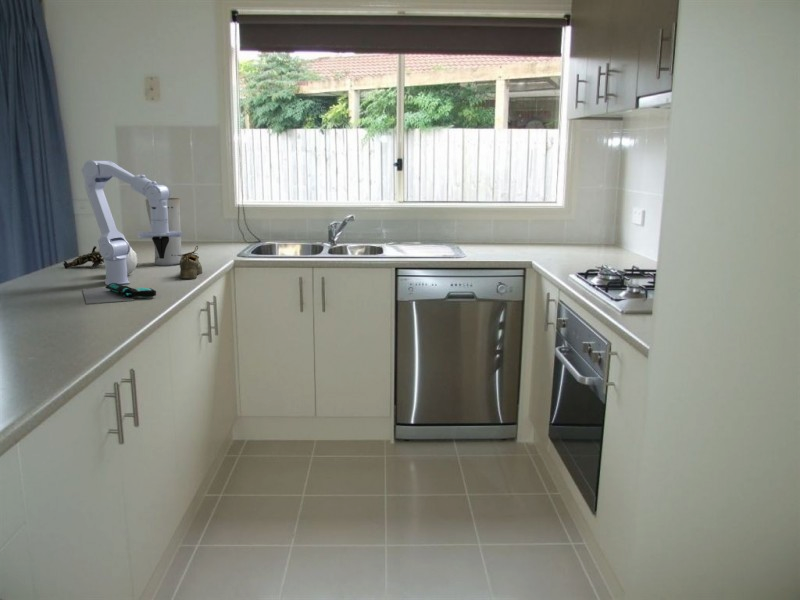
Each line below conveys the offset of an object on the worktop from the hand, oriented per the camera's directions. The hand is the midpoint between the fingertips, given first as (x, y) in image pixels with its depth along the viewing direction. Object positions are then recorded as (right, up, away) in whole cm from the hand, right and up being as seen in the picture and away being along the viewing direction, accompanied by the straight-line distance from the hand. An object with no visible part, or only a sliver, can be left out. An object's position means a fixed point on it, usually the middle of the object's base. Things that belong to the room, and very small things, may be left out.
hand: (161, 258), depth 238 cm
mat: (-13, -13, -13) cm, 23 cm away
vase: (-16, +1, +51) cm, 54 cm away
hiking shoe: (+2, -5, +26) cm, 27 cm away
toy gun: (-5, -11, -10) cm, 16 cm away
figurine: (-45, -2, +40) cm, 60 cm away
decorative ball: (-23, -6, +22) cm, 33 cm away
